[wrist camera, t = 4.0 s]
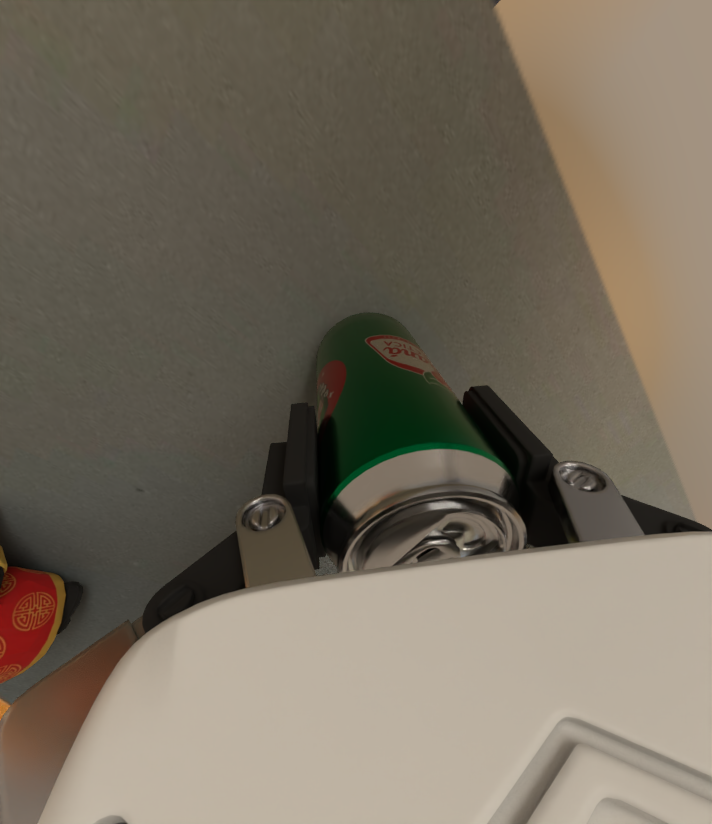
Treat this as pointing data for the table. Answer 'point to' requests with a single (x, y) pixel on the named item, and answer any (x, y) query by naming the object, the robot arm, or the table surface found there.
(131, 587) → the table surface
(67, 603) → the figurine
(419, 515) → the soda can
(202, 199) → the table surface
